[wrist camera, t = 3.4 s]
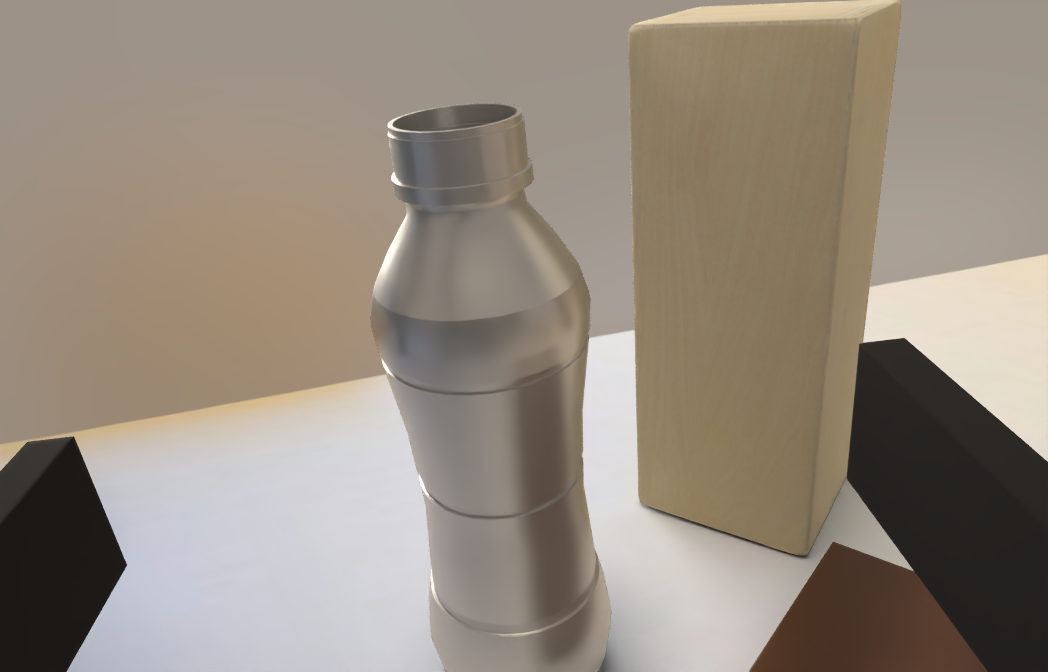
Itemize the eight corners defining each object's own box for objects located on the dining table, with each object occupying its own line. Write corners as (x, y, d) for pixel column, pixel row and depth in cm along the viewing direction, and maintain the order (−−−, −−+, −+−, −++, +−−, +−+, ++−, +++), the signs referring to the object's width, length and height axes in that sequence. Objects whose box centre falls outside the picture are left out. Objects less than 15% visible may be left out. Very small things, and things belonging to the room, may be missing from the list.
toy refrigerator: (857, 467, 38) (908, -8, 29) (811, 562, 32) (857, 16, 23) (700, 427, 42) (701, 3, 33) (637, 506, 37) (618, 26, 28)
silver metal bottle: (577, 578, 33) (533, 83, 24) (645, 710, 27) (620, 118, 18) (425, 623, 31) (321, 114, 23) (463, 772, 26) (340, 163, 17)
